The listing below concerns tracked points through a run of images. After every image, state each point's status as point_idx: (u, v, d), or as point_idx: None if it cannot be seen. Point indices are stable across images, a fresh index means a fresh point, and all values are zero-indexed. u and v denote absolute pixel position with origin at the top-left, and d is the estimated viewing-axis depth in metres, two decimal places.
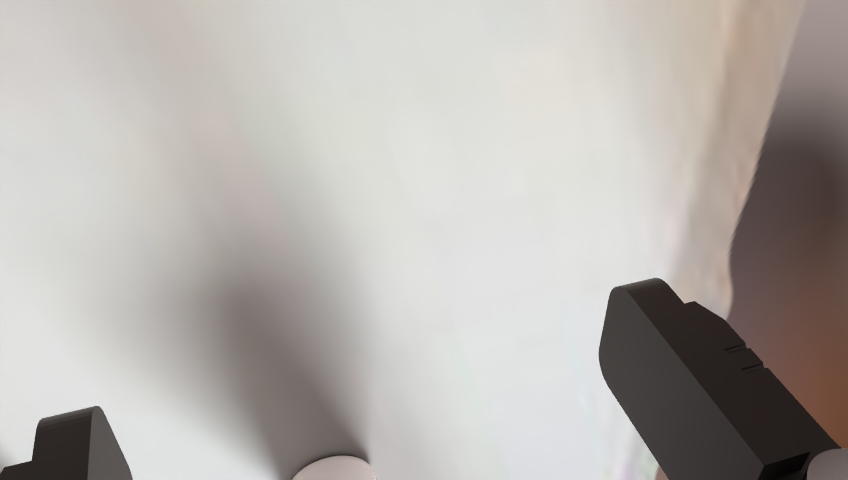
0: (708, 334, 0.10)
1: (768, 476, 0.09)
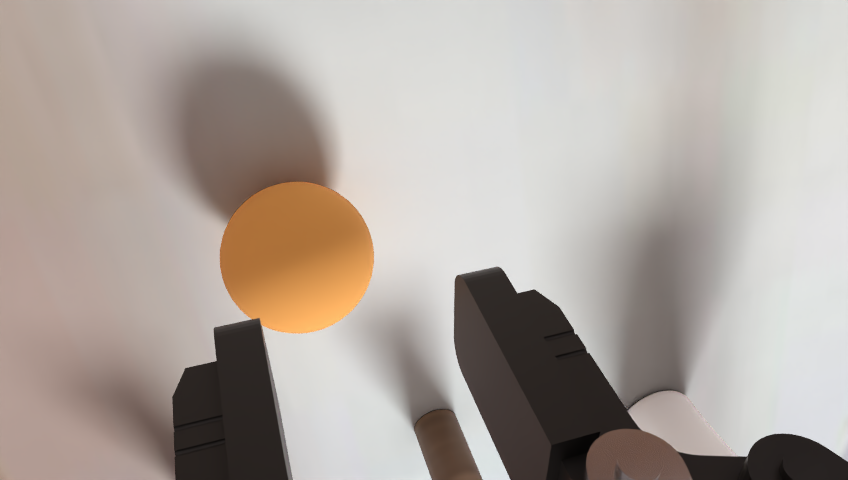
0: (531, 320, 0.11)
1: (560, 456, 0.09)
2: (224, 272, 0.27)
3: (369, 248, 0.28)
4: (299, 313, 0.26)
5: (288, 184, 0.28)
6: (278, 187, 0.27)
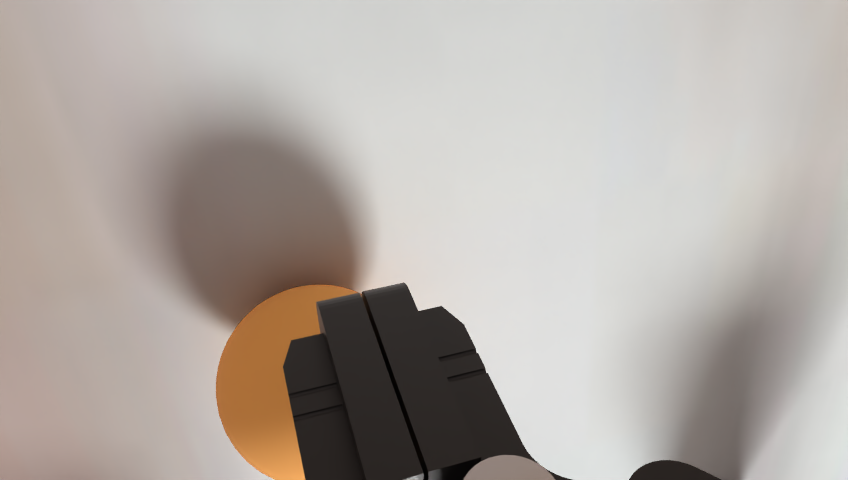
0: (427, 340, 0.10)
1: None
2: (222, 410, 0.20)
3: None
4: None
5: (310, 293, 0.21)
6: (297, 298, 0.21)
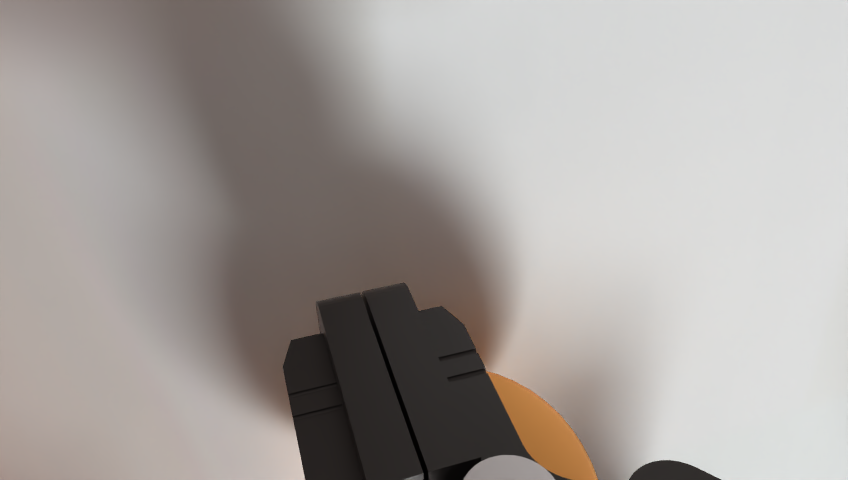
0: (428, 339, 0.10)
1: None
2: None
3: None
4: None
5: None
6: None
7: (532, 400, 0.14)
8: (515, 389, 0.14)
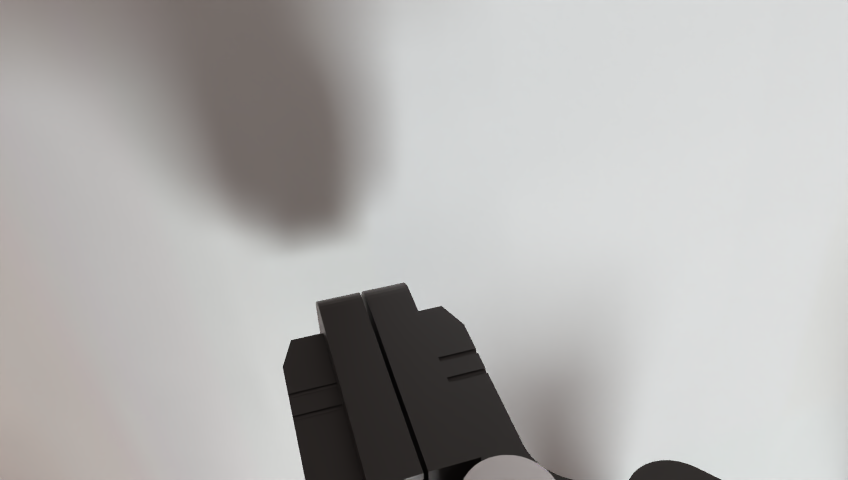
0: (428, 339, 0.10)
1: None
2: None
3: None
4: None
5: None
6: None
7: None
8: None
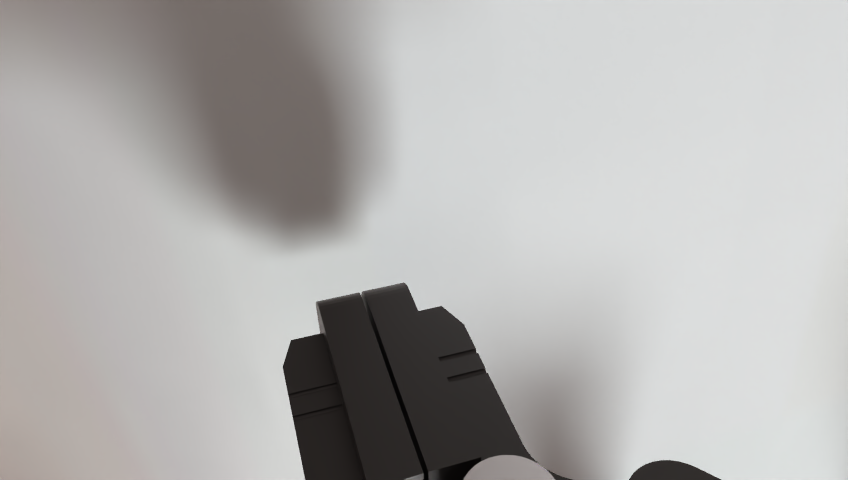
0: (428, 339, 0.10)
1: None
2: None
3: None
4: None
5: None
6: None
7: None
8: None
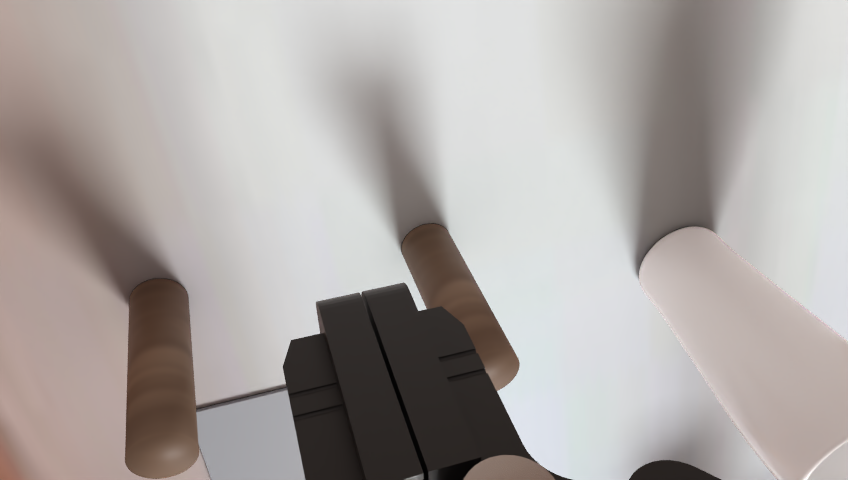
0: (427, 339, 0.10)
1: None
2: None
3: None
4: None
5: None
6: None
7: None
8: None
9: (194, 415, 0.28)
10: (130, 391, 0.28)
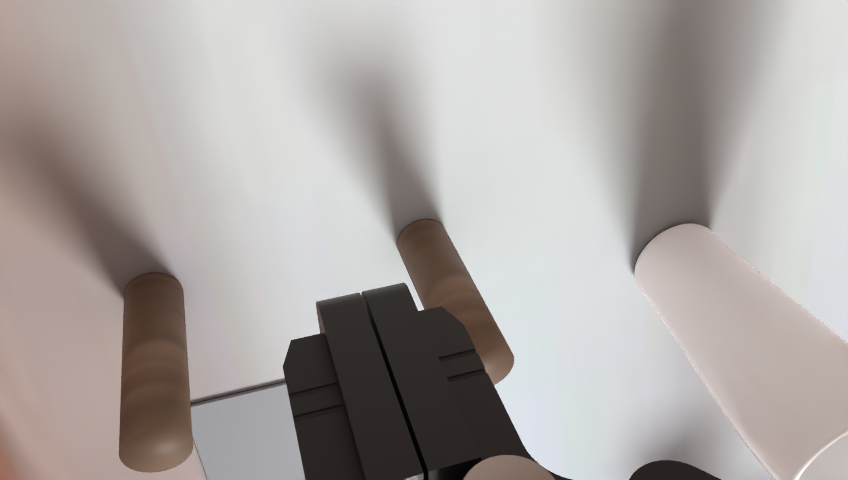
0: (428, 339, 0.10)
1: None
2: None
3: None
4: None
5: None
6: None
7: None
8: None
9: (188, 409, 0.28)
10: (124, 385, 0.28)
